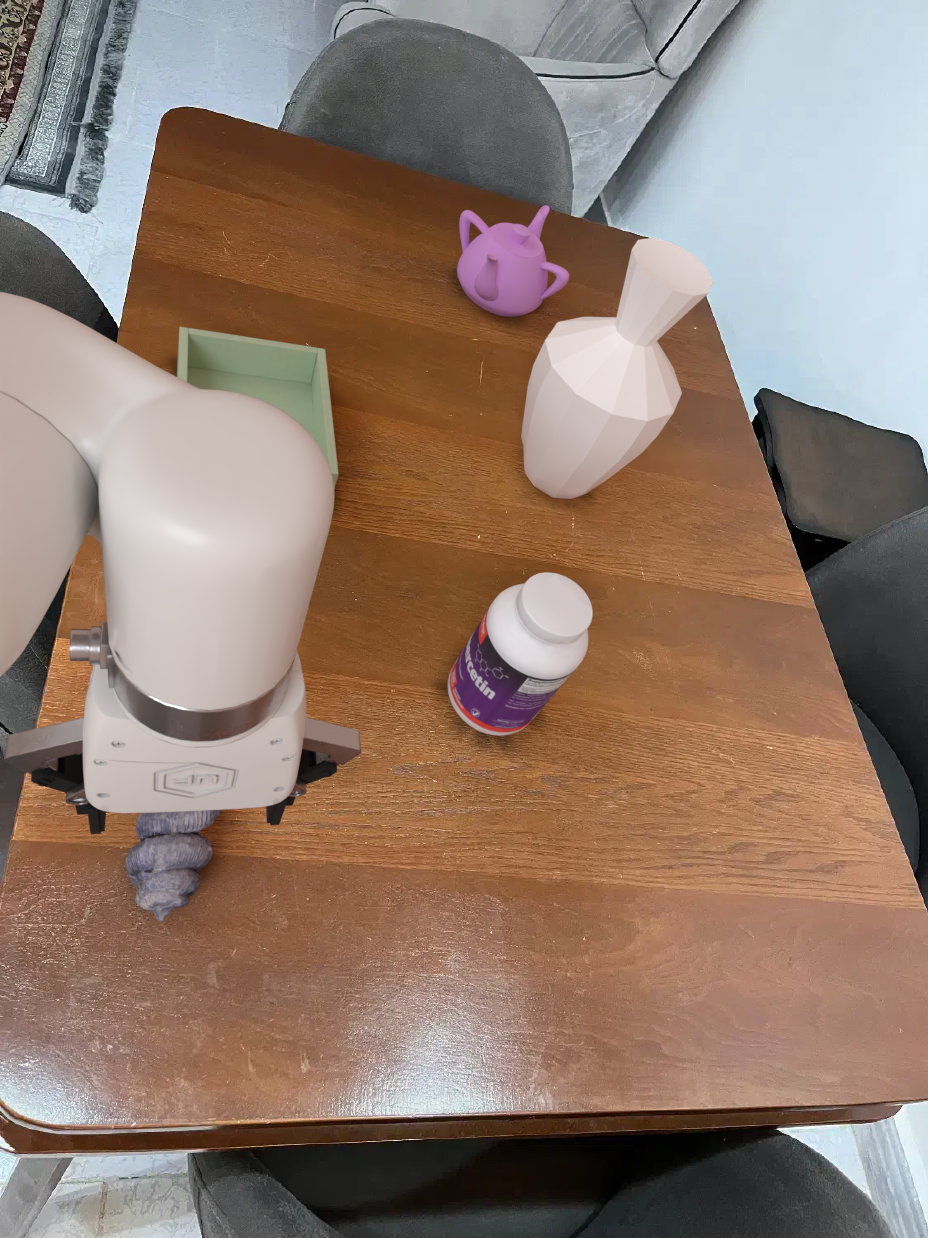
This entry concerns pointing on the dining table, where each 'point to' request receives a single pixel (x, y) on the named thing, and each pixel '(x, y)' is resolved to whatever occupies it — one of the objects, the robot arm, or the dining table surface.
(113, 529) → the robot arm
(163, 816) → the seashell
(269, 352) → the box
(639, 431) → the vase
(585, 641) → the pill bottle
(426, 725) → the dining table surface
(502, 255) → the teapot
